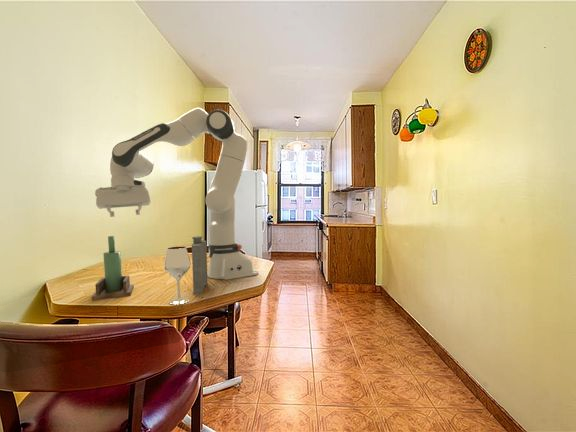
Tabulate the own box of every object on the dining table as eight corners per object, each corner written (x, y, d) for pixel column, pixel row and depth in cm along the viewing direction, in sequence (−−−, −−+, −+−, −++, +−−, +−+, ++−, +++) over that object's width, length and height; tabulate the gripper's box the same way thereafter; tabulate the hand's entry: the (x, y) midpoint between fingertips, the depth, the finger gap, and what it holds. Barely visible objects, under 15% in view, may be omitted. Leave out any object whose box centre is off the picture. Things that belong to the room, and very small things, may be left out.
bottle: (123, 287, 119) (120, 235, 118) (121, 290, 114) (118, 236, 113) (107, 289, 117) (103, 236, 116) (104, 292, 112) (101, 237, 111)
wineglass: (183, 306, 98) (181, 249, 97) (160, 305, 99) (158, 249, 99) (196, 298, 106) (194, 246, 105) (174, 297, 107) (172, 246, 107)
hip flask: (201, 294, 111) (199, 238, 110) (190, 294, 110) (188, 239, 110) (208, 283, 127) (206, 234, 126) (198, 283, 126) (196, 234, 125)
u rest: (133, 287, 123) (133, 274, 123) (130, 295, 112) (129, 281, 112) (98, 291, 119) (98, 277, 118) (91, 299, 107) (91, 285, 107)
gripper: (93, 183, 127) (94, 214, 122) (148, 181, 136) (151, 209, 131) (96, 191, 132) (97, 220, 127) (148, 189, 141) (151, 216, 136)
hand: (125, 215), depth 129 cm, fingers open, 8 cm apart
